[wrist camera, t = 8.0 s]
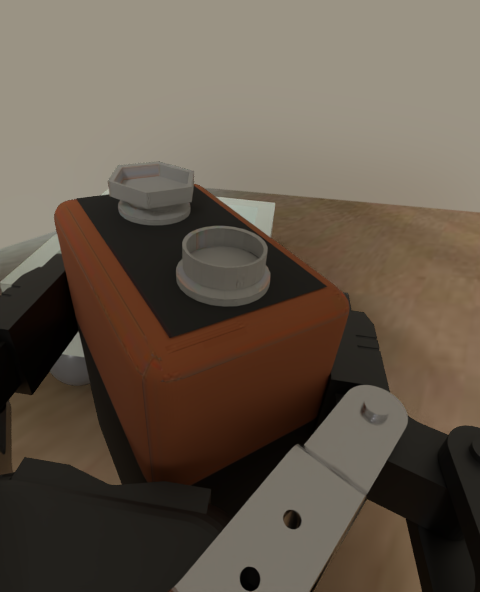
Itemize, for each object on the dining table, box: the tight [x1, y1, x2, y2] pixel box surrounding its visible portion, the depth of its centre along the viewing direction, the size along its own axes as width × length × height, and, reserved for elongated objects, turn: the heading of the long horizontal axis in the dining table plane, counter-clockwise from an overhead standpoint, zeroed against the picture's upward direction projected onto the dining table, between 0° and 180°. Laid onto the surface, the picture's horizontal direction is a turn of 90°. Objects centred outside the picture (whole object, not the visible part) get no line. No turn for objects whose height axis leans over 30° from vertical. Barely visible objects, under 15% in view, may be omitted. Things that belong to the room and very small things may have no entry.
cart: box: [0, 188, 275, 386], centre depth 27 cm, size 14×13×8 cm
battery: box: [54, 162, 349, 518], centre depth 11 cm, size 4×7×10 cm, turn 32°
